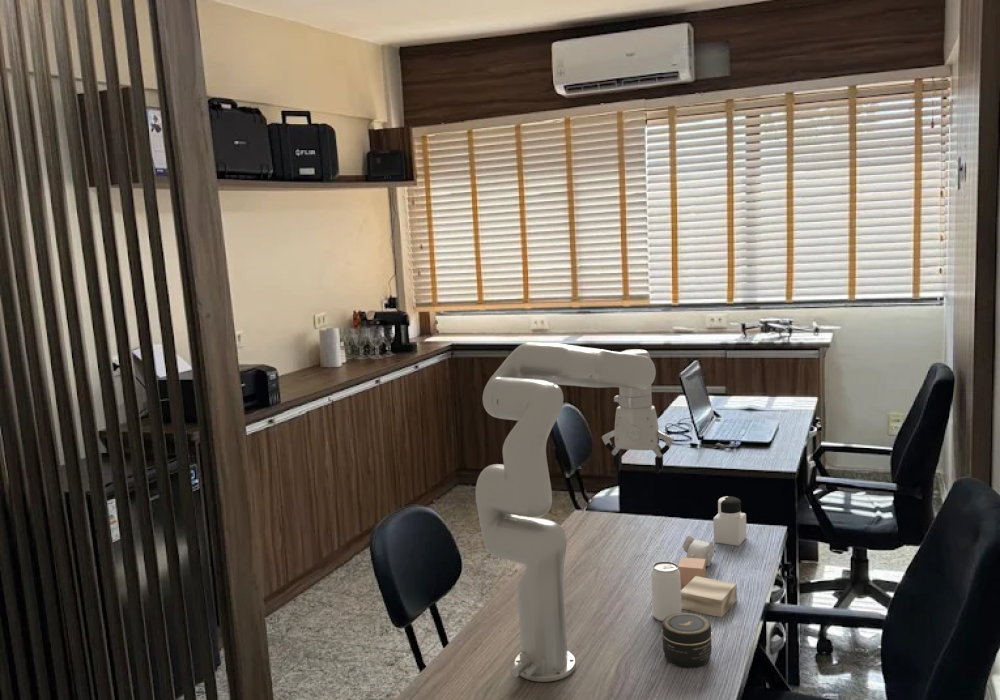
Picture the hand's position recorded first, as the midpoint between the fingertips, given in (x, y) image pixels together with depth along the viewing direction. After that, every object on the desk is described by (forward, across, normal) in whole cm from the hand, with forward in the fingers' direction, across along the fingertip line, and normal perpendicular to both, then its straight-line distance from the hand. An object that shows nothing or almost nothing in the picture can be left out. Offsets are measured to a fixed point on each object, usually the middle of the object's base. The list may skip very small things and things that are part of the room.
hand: (638, 470), depth 205 cm
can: (+30, +9, -14) cm, 34 cm away
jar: (+30, +16, -31) cm, 46 cm away
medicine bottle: (+30, +16, +36) cm, 49 cm away
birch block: (+30, +17, -5) cm, 34 cm away
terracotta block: (+30, +11, +6) cm, 32 cm away
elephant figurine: (+30, +11, +17) cm, 36 cm away
